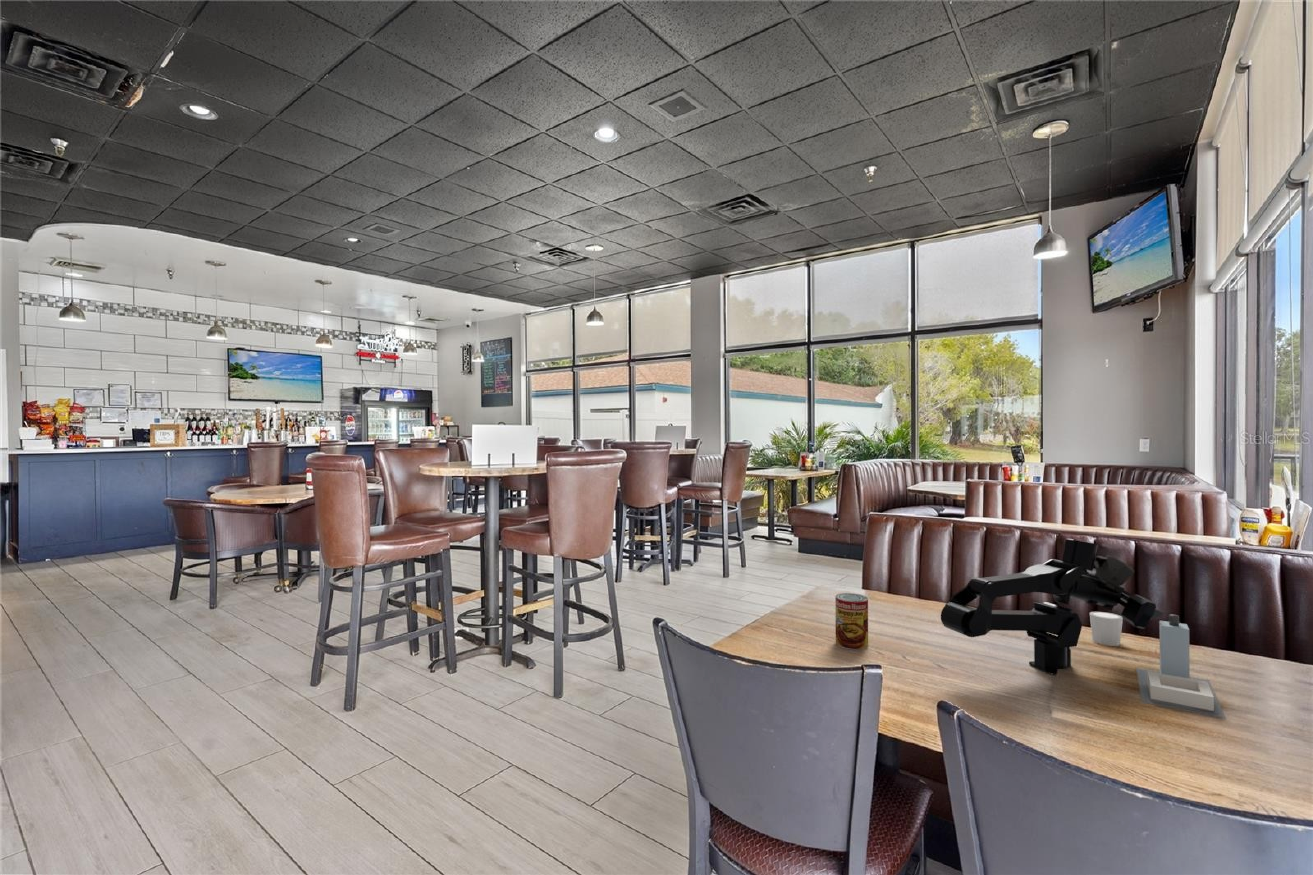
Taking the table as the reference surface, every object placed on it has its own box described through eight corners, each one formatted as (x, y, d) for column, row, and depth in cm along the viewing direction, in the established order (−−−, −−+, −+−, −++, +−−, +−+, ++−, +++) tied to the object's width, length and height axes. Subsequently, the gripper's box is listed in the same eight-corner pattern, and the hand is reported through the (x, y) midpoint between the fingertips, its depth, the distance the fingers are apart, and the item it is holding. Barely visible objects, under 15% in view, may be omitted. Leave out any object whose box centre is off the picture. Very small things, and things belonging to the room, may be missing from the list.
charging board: (1226, 724, 109) (1226, 718, 109) (1141, 707, 116) (1141, 701, 116) (1209, 685, 127) (1209, 680, 127) (1136, 672, 134) (1136, 667, 134)
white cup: (1129, 647, 150) (1128, 619, 150) (1098, 645, 151) (1097, 617, 151) (1114, 638, 156) (1113, 611, 156) (1084, 637, 158) (1084, 610, 158)
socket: (1150, 701, 116) (1150, 685, 116) (1148, 685, 124) (1147, 671, 124) (1213, 713, 111) (1213, 697, 111) (1207, 697, 118) (1206, 681, 118)
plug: (1161, 683, 125) (1160, 616, 125) (1159, 676, 128) (1159, 611, 129) (1189, 688, 122) (1189, 619, 122) (1187, 681, 126) (1186, 614, 126)
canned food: (834, 647, 150) (833, 599, 150) (837, 638, 157) (836, 592, 157) (867, 651, 147) (867, 602, 147) (869, 641, 154) (868, 594, 154)
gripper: (1133, 574, 127) (1198, 592, 128) (1071, 540, 145) (1128, 556, 147) (1110, 621, 129) (1174, 638, 131) (1052, 581, 147) (1109, 597, 149)
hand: (1145, 604), depth 139 cm, fingers open, 9 cm apart
